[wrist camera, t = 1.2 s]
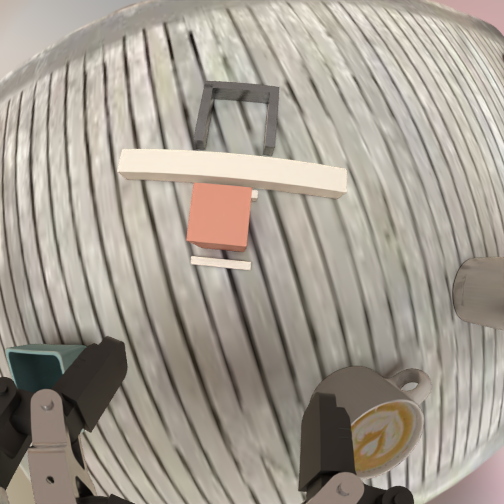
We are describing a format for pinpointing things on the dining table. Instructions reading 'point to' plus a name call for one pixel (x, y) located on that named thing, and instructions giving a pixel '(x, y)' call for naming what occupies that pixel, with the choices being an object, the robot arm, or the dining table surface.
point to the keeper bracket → (241, 94)
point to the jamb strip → (233, 177)
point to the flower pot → (40, 364)
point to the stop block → (219, 216)
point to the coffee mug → (379, 414)
